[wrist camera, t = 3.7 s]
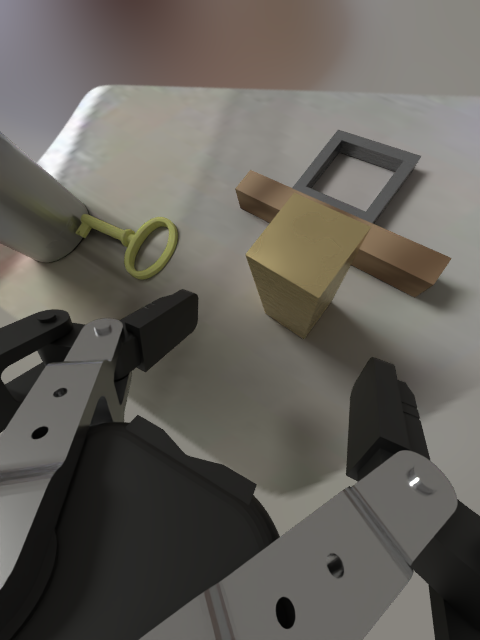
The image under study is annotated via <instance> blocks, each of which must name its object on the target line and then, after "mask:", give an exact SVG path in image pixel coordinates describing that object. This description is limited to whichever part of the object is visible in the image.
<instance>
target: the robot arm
mask: <svg viewBox="0 0 480 640" xmlns="http://www.w3.org/2000/svg"><path fill="white" fill-rule="evenodd" d="M83 214H88V211H87V208H86V207H85V205H84V204H83V203H82V202H81V201H80V200H79V199H77V198H76V197H75V196H74V195H73V194H72V193H71V192H69V191H68V190H67V189H66V188H65V187H64V186H62V185H61V184H60V183H59V182H58V181H57V180H56V179H54V178H53V177H52V176H51V175H50V174H49V173H48V172H46V171H45V170H44V169H43V168H42V167H41V166H40V165H38V164H37V163H36V162H35V161H34V160H33V159H31V158H30V157H29V156H28V155H27V154H25V153H24V152H23V151H22V150H21V149H20V148H19V147H17V146H16V145H15V144H14V143H13V142H12V141H11V140H9V139H8V138H7V137H6V136H5V135H4V134H2V133H1V132H0V243H1V244H3V245H5V246H7V247H9V248H11V249H13V250H15V251H17V252H20V253H22V254H24V255H26V256H28V257H30V258H32V259H34V260H36V261H39V262H52V261H56V260H58V259H60V258H62V257H64V256H66V255H67V254H68V253H70V252H71V251H72V250H73V249H74V248H75V247H76V246H77V245H78V244H79V242H80V241H81V240H82V238H83V237H82V236H79V235H77V234H76V231H77V230H78V228H79V227H80V225H81V224H82V222H81V216H82V215H83ZM197 321H198V295H197V294H195V293H192V292H189V291H186V290H184V289H182V290H180V291H178V292H176V293H174V294H173V295H169V296H166V297H162V298H159V299H157V300H155V301H154V302H152V304H148V305H146V306H145V308H144V307H143V308H141V309H139V310H137V311H136V312H134V313H132V314H130V315H128V316H127V317H125V318H123V319H121V320H117V319H112V318H103V319H98V320H94V321H92V322H90V323H88V324H86V325H83V324H77V323H72V322H71V319H70V316H69V314H68V312H66V311H63V310H46V311H41V312H38V313H35V314H33V315H31V316H28V317H26V318H23V319H21V320H19V321H16V322H14V323H12V324H9V325H7V326H5V327H2V328H0V433H1V432H2V431H3V430H4V432H3V434H2V435H1V437H0V640H363V639H364V637H365V636H366V635H367V634H368V632H369V631H370V630H371V629H372V627H373V626H374V625H375V623H376V622H377V621H378V620H379V618H380V617H381V616H382V615H383V613H384V612H385V611H386V610H387V608H388V607H389V606H390V605H391V603H392V602H393V601H394V600H395V598H396V597H397V596H398V594H399V593H400V592H401V591H402V590H403V588H404V587H405V586H406V584H407V583H408V582H409V580H410V579H411V577H412V575H413V570H414V571H415V572H416V573H418V574H419V576H421V577H422V578H423V579H424V580H425V581H426V582H427V583H428V584H429V592H430V600H431V609H432V617H433V625H434V634H435V640H480V516H479V515H478V514H476V513H475V512H473V511H472V510H471V509H469V508H468V507H467V506H465V505H464V504H463V503H462V502H460V501H459V500H458V499H457V496H456V493H455V490H454V488H453V486H452V485H451V483H450V481H449V480H448V478H447V477H446V476H445V475H444V473H443V472H442V471H441V470H440V469H439V468H438V467H437V466H436V465H435V464H433V463H432V462H431V461H430V457H429V453H428V449H427V445H426V441H425V437H424V433H423V429H422V425H421V421H420V420H419V418H420V417H419V413H418V410H417V405H416V401H415V397H414V394H413V393H412V392H411V390H410V389H409V387H408V386H407V385H406V383H405V382H402V381H399V380H397V375H396V370H395V366H394V364H391V363H388V362H385V361H383V360H380V359H377V358H374V357H371V358H370V359H369V361H368V362H367V364H366V366H365V367H364V369H363V371H362V372H361V374H360V376H359V377H358V379H357V380H356V382H355V384H354V386H353V389H352V392H351V396H350V412H349V431H348V449H347V468H346V475H347V476H348V477H350V478H352V479H354V480H356V481H358V482H357V483H356V484H355V485H353V486H352V487H350V486H349V487H347V488H346V489H344V490H343V491H341V492H340V493H338V494H337V495H336V496H334V497H333V498H332V499H330V500H329V501H328V502H327V503H325V504H324V505H322V506H321V507H320V508H318V509H317V510H316V511H314V512H313V513H312V514H311V515H309V516H308V517H307V518H305V519H304V520H302V521H301V522H300V523H298V524H297V525H296V526H295V527H293V528H292V529H290V530H289V531H288V532H286V533H285V534H284V535H282V536H281V537H280V536H279V534H278V532H277V529H276V527H275V525H274V523H273V521H272V520H271V518H270V516H269V514H268V513H267V511H266V510H265V509H264V507H263V506H262V505H261V503H260V502H259V501H258V500H257V499H256V498H255V496H254V495H253V494H254V491H255V488H256V485H257V484H255V483H253V482H252V481H250V480H248V479H247V478H245V477H243V476H241V475H240V474H238V473H236V472H235V471H233V470H231V469H229V468H228V467H226V466H224V465H222V464H218V463H214V462H210V461H206V460H202V459H198V458H194V457H190V456H188V455H186V454H185V453H184V452H183V451H182V450H181V449H180V448H179V447H178V446H177V445H176V443H175V442H174V441H173V440H172V439H171V438H170V437H169V436H168V435H167V433H166V432H165V431H164V430H163V429H161V428H159V427H158V426H156V425H154V424H153V423H151V422H149V421H147V420H146V419H144V418H142V417H141V416H139V415H137V416H136V417H135V418H134V419H133V420H132V421H131V422H130V423H126V422H124V411H125V406H126V402H127V397H128V393H129V388H130V384H131V379H132V370H133V369H135V368H136V367H137V368H139V369H141V370H143V371H144V372H146V371H148V370H149V369H150V368H151V367H152V366H153V365H154V364H156V363H157V362H158V361H159V360H160V359H161V358H163V357H164V356H165V355H166V354H167V353H168V352H170V351H171V350H172V349H173V348H174V347H175V346H177V345H178V344H179V343H180V342H181V341H182V340H184V339H185V338H186V337H187V336H188V335H189V334H191V333H192V332H193V331H194V329H195V328H196V325H197ZM35 351H38V353H39V355H40V357H41V359H42V361H43V362H42V363H41V364H39V365H37V366H35V367H34V368H32V369H30V370H29V371H27V372H25V373H24V374H22V375H20V376H19V377H17V378H15V379H14V380H12V381H11V382H9V383H7V384H5V385H4V383H3V382H2V380H1V374H2V372H3V371H4V369H5V368H7V367H8V366H9V365H11V364H13V363H15V362H17V361H19V360H20V359H22V358H24V357H26V356H28V355H30V354H31V353H33V352H35Z"/></svg>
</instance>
